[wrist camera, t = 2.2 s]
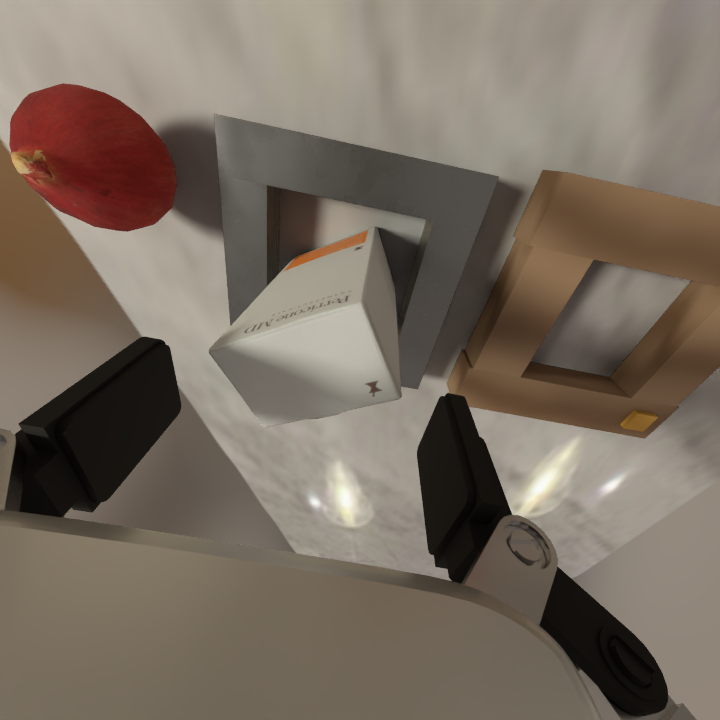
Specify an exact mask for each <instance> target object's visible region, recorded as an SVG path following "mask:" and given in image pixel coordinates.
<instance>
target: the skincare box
mask: <svg viewBox="0 0 720 720" xmlns="http://www.w3.org/2000/svg"><path fill="white" fill-rule="evenodd" d="M209 354H210V355H211V356H212V358H213V359H214V360H215V361H216V363H217V364H218V366H219V367H220V368H221V370H222V371H223V372H224V374H225V375H226V376H227V378H228V379H229V380H230V382H231V383H232V384H233V386H234V387H235V388H236V390H237V391H238V392H239V394H240V395H241V396H242V398H243V399H244V401H245V402H246V403H247V405H248V406H249V408H250V409H251V411H252V412H253V413H254V415H255V416H256V418H257V419H258V421H259V422H260V424H261V425H262V426H263V427H270V426H275V425H280V424H285V423H290V422H295V421H299V420H304V419H318V418H323V417H328V416H333V415H337V414H340V413H342V412H345V411H348V410H352V409H357V408H361V407H365V406H370V405H375V404H380V403H384V402H388V401H393V400H398V399H400V398H401V397H402V393H401V383H400V371H399V346H398V329H397V312H396V296H395V285H394V281H393V278H392V275H391V271H390V267H389V264H388V261H387V258H386V255H385V251H384V248H383V245H382V242H381V239H380V235H379V232H378V229H377V227H373V228H370V229H368V230H366V231H363V232H361V233H358V234H356V235H353V236H350V237H348V238H345V239H343V240H340V241H338V242H335V243H332V244H329V245H326V246H323V247H321V248H318V249H315V250H312V251H309V252H306V253H303V254H300V255H297V256H295V257H294V258H293V259H292V260H291V261H290V262H289V263H288V264H287V266H286V267H285V268H284V269H283V270H282V271H281V272H280V273H279V274H278V275H277V276H276V278H275V279H274V280H273V281H272V282H271V283H270V284H269V285H268V286H267V287H266V288H265V289H264V290H263V292H262V293H261V294H260V295H259V296H258V297H257V298H256V299H255V300H254V301H253V302H252V303H251V305H250V306H249V307H248V308H247V309H246V310H245V311H244V312H243V313H242V314H241V315H240V317H239V318H238V319H237V320H236V321H235V322H234V323H233V324H232V325H231V326H230V327H229V328H228V329H227V331H226V332H225V333H224V334H223V335H222V336H221V337H220V338H219V339H218V340H217V341H216V342H215V343H214V345H213V346H212V347H211V348H210V349H209Z"/></svg>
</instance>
